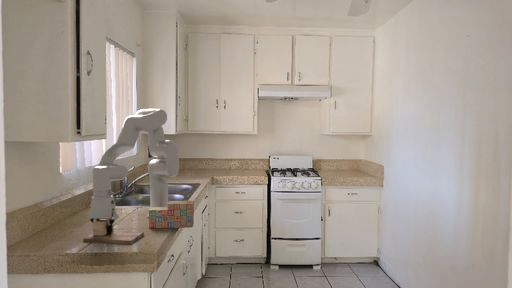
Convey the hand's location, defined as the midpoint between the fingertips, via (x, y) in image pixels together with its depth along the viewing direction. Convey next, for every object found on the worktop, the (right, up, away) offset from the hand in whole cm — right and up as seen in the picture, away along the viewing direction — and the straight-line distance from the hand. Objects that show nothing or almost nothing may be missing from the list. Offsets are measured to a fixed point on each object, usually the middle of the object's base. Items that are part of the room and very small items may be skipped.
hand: (103, 232), depth 157 cm
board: (+6, -2, -2) cm, 6 cm away
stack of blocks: (+27, -1, +17) cm, 32 cm away
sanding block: (0, 0, 0) cm, 0 cm away
